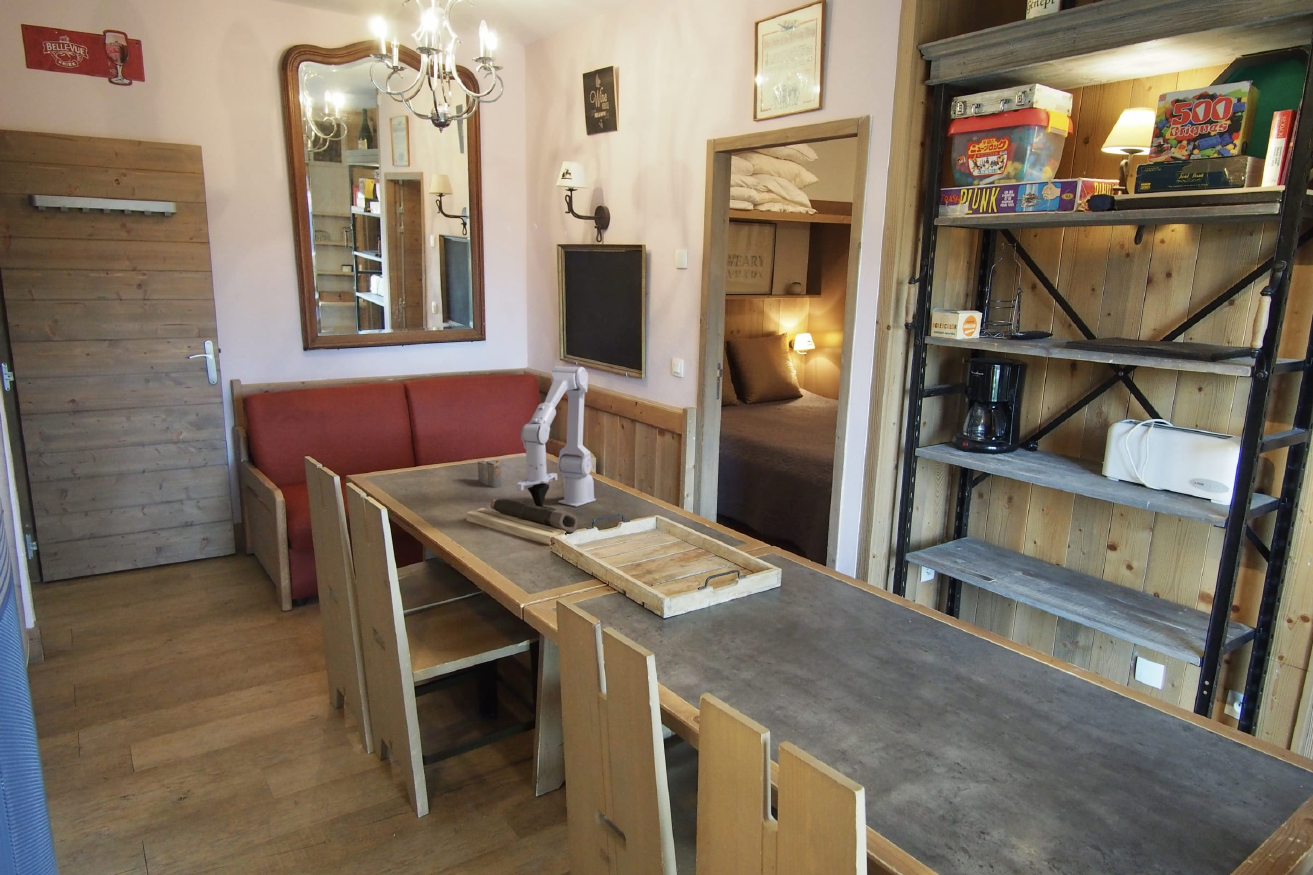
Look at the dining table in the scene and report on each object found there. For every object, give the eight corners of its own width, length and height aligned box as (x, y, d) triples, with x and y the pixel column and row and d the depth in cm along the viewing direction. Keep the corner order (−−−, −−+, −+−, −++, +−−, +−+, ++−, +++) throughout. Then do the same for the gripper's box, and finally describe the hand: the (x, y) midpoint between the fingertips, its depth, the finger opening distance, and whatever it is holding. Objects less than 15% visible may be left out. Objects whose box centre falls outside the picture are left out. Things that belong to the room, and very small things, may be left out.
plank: (482, 515, 247) (482, 507, 246) (566, 539, 225) (565, 530, 224) (466, 520, 242) (466, 512, 242) (550, 545, 220) (550, 536, 220)
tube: (517, 498, 251) (582, 510, 231) (513, 520, 251) (579, 534, 231) (488, 495, 243) (554, 507, 223) (485, 517, 243) (550, 531, 223)
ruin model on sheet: (502, 487, 281) (501, 460, 279) (494, 489, 279) (493, 461, 277) (486, 481, 289) (485, 454, 287) (478, 482, 287) (477, 456, 285)
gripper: (527, 471, 229) (529, 517, 232) (563, 460, 240) (565, 504, 243) (510, 467, 233) (513, 512, 236) (547, 457, 244) (549, 500, 247)
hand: (538, 508), depth 240 cm, fingers closed, pressing on tube
